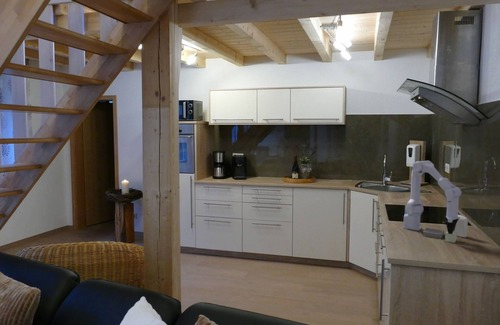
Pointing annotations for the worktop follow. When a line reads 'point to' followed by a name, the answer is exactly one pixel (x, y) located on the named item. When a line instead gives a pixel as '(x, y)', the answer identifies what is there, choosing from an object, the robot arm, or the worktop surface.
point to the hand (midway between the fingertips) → (451, 232)
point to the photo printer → (461, 226)
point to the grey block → (433, 233)
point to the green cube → (450, 237)
